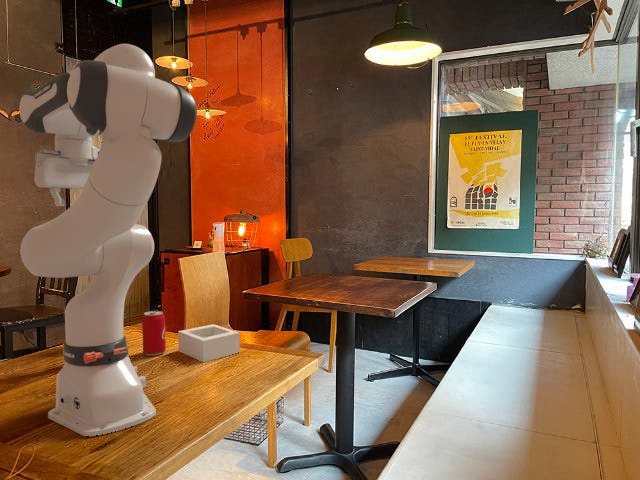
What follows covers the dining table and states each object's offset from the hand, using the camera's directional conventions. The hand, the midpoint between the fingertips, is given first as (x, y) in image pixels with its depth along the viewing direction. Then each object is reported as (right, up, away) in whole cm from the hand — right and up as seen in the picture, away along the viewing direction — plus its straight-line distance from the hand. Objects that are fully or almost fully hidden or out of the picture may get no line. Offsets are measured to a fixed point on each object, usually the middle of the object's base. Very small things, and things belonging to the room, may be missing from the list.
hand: (76, 206), depth 122 cm
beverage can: (+16, -42, +13) cm, 47 cm away
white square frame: (+31, -42, +15) cm, 54 cm away
